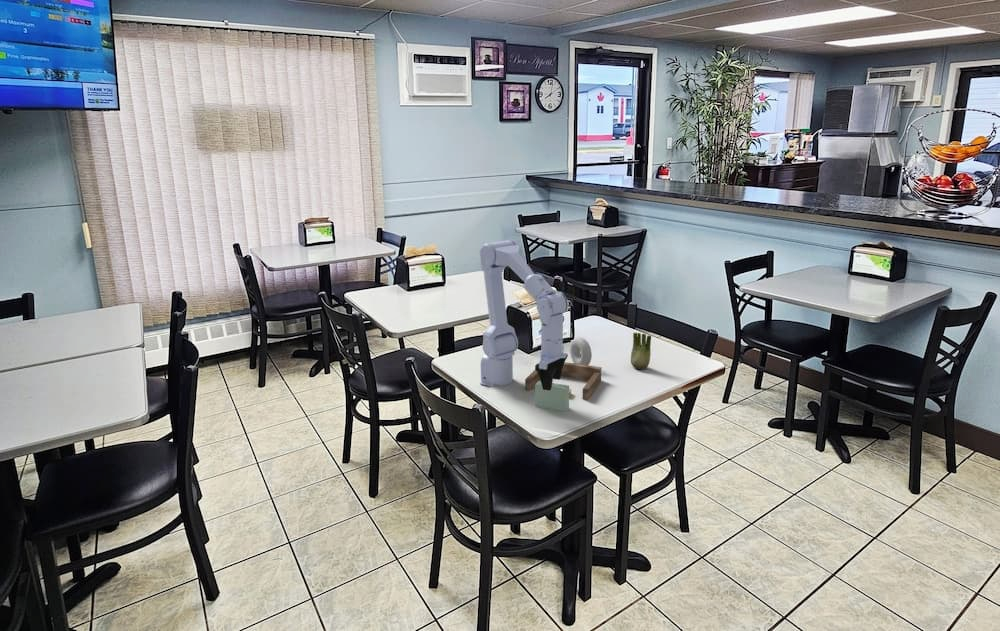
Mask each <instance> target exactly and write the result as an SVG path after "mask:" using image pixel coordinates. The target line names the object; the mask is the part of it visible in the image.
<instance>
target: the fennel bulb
mask: <svg viewBox="0 0 1000 631" xmlns="http://www.w3.org/2000/svg"><path fill="white" fill-rule="evenodd" d="M632 334H633V335H632V336H633V337H632V338H633V340H632V342H633V343H632V349H631V353H630V365H632V367H633V368H634V369H637V370H646V369H648V366H649V365H650V361H651V354H652V353H651V352H652V351H651V342H652V335H651V334H647V333H642V334H641V332H633V333H632Z"/></svg>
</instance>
